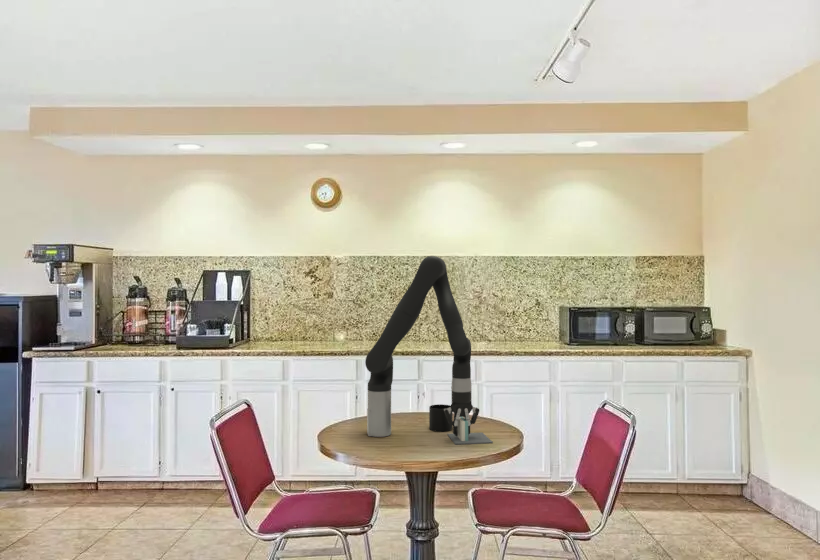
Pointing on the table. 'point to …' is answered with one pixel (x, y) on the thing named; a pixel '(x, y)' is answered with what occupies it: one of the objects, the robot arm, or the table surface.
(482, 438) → the mat
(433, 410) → the mug
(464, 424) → the block
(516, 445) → the table surface
